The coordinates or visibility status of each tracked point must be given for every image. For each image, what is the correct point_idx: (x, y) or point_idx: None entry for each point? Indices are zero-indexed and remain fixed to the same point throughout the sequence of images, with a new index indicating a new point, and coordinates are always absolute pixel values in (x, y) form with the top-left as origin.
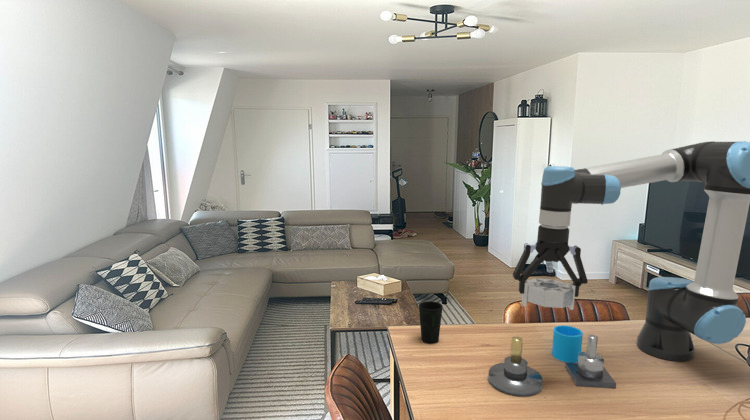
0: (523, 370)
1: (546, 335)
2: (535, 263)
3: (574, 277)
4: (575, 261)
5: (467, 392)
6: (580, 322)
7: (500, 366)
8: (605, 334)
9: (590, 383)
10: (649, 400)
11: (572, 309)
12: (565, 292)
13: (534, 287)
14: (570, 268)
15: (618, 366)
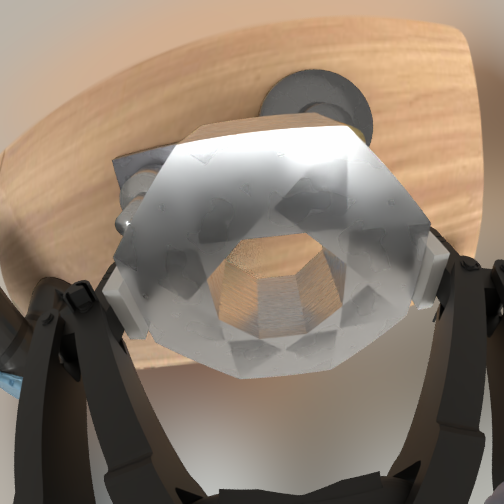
0: (310, 107)
1: None
2: (476, 403)
3: (89, 340)
4: (72, 465)
5: (404, 78)
6: (174, 363)
7: None
8: None
9: (157, 147)
10: (72, 137)
11: None
12: (164, 163)
13: (401, 217)
14: (96, 411)
15: (111, 241)
